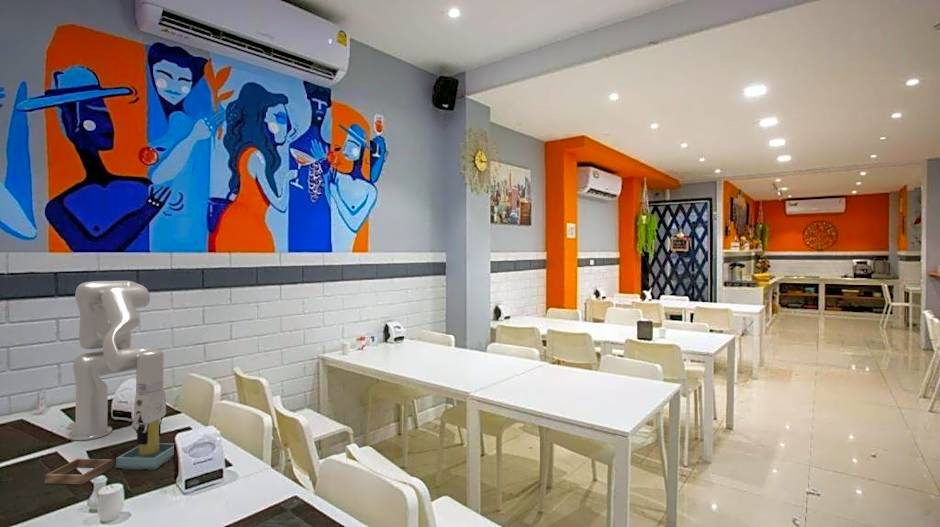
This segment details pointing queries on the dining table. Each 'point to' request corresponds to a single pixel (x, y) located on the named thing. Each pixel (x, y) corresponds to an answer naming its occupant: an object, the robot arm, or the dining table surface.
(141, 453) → the vase
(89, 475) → the frame
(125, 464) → the tray
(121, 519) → the dining table surface
